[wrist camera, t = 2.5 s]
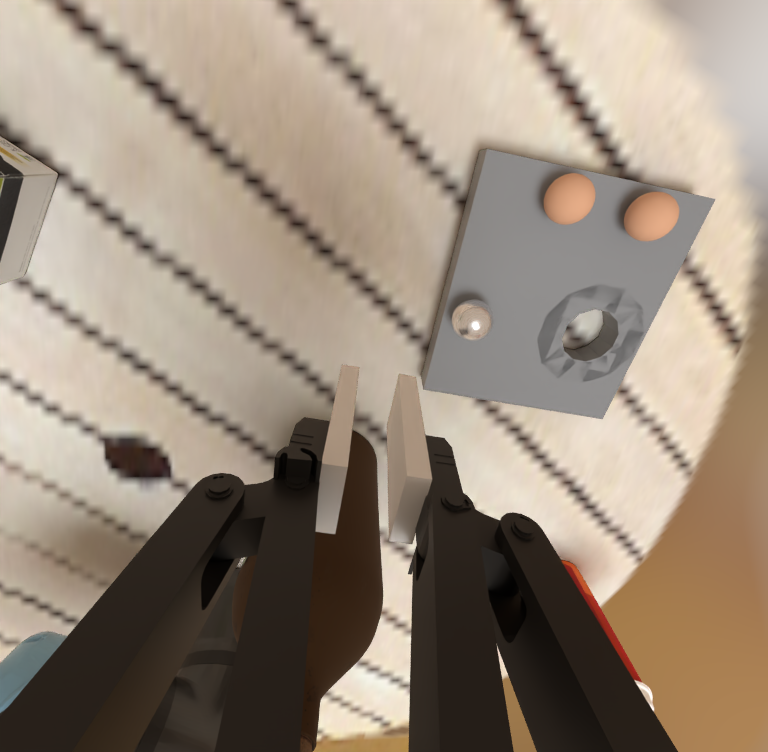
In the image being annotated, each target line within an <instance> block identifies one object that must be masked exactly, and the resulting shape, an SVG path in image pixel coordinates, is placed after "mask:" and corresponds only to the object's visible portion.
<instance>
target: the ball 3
mask: <svg viewBox="0 0 768 752" xmlns="http://www.w3.org/2000/svg"><path fill="white" fill-rule="evenodd" d="M678 217H679V206H678V203H677V201H676V200H675V199H674V198H673V197H672V196H671V195H669V194H667V193H664V192H650V193H647V194H644V195H642V196H640V197H638V198H637V199H636V200H634V201H633V202H632V203H631V205H630V206H629V207H628V209H627V211H626V213H625V216H624V227H625V230H626V231H627V233H628V234H629V235H630V236H631V237H632V238H634V239H636V240H639V241H653V240H657V239H659V238H661V237H663V236H665V235H666V234H668V233H669V232H670V231H671V230H672V229H673V227H674V226H675V224H676V223H677V220H678Z"/></svg>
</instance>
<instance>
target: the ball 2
mask: <svg viewBox="0 0 768 752" xmlns="http://www.w3.org/2000/svg"><path fill="white" fill-rule="evenodd" d="M594 202H595V188H594V185H593V183H592V182H591V181H590V179H589V178H587V177H586V176H584V175H581V174H577V173H571V174H566V175H563V176H561V177H559V178H558V179H556V180H555V181H554V182H553V183H552V184H551V185H550V186H549V188H548V189H547V191H546V194H545V197H544V210H545V212H546V214H547V216H548V217H549V218H550V219H551V220H552V221H553V222H555V223H558V224H563V225H568V224H573V223H576V222H578V221H580V220H581V219H583V218H584V217H585V216H586V215H587V214H588V213H589V212H590V210H591V209H592V207H593V205H594Z"/></svg>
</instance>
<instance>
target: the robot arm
mask: <svg viewBox="0 0 768 752" xmlns="http://www.w3.org/2000/svg"><path fill="white" fill-rule="evenodd" d="M358 376H359V367H354V366H348V365H342V367H341V372H340V377H339V381H338V386H337V391H336V396H335V400H334V405H333V410H332V415H331V420H330V421H324V420H318V419H311V418H305V417H304V418H303V419H302V420H301V421H299V422H298V423H297V424H296V426H295V429H294V431H293V435H292V437H291V440H290V443H289V446H288V447H284V448H283V449H282V450H280V451H279V452H278V453H277V455H276V457H275V467H274V478H272V479H270V480H269V481H266V482H263V483H258V484H251V485H244V483H243V481H242V480H241V479H240V478H239V477H237V476H234V475H232V474H226V473H219V474H212V475H210V476H207V477H205V478H203V479H202V480H200V481H199V482H198V483H197V484H196V485H195V486H194V487H193V488H192V490H191V491H190V492H189V493H188V494H187V496H186V497H185V498H184V499H183V500H182V501H181V503H180V504H179V505H178V506H177V507H176V509H175V510H174V511H173V512H172V513H171V515H170V516H169V517H168V518H167V519H166V520H165V522H164V523H163V524H162V525H161V526H160V528H159V529H158V530H157V531H156V532H155V533H154V535H153V536H152V537H151V538H150V539H149V541H148V542H147V543H146V544H145V545H144V546H143V548H142V549H141V550H140V551H139V552H138V554H137V555H136V556H135V557H134V558H133V559H132V561H131V562H130V563H129V564H128V565H127V567H126V568H125V569H124V570H123V571H122V573H121V574H120V575H119V576H118V577H117V578H116V580H115V581H114V582H113V583H112V584H111V586H110V587H109V588H108V589H107V590H106V591H105V593H104V594H103V595H102V596H101V597H100V599H99V600H98V601H97V602H96V603H95V604H94V606H93V607H92V608H91V609H90V610H89V612H88V613H87V614H86V615H85V616H84V618H83V619H82V620H81V621H80V622H79V623H78V625H77V626H76V627H75V628H74V629H73V631H72V632H71V633H70V634H69V635H68V636H65V635H62V634H58V633H55V632H41V633H37V634H35V635H33V636H31V637H29V638H27V639H26V640H24V641H23V642H22V643H21V644H19V645H18V646H17V647H16V648H15V649H14V650H13V651H12V652H11V653H10V654H9V655H8V656H7V657H6V658H5V659H4V660H3V661H2V662H1V663H0V752H300V739H301V725H302V711H303V697H304V684H305V670H306V656H307V642H308V628H309V615H310V601H311V587H312V573H313V560H314V546H315V532H322V533H329V534H335V533H336V527H337V522H338V517H339V511H340V506H341V501H342V495H343V490H344V485H345V479H346V474H347V469H348V461H349V452H350V444H351V435H352V427H353V418H354V410H355V401H356V393H357V384H358ZM387 457H388V516H389V541H391V542H398V543H406V544H412V543H413V540H414V537H415V533H416V541H417V546H416V549H415V553H414V556H413V559H412V562H411V565H410V568H409V572H408V574H412V571H413V588H412V630H411V672H410V714H409V752H514V751H513V745H512V739H511V733H510V727H509V720H508V714H507V708H506V701H505V695H504V689H503V682H502V676H501V670H500V664H499V657H498V651H497V646H498V649H499V651H500V654H501V657H502V659H503V662H504V665H505V668H506V670H507V673H508V676H509V678H510V681H511V683H512V686H513V689H514V692H515V694H516V697H517V699H518V702H519V705H520V707H521V710H522V713H523V715H524V718H525V721H526V723H527V726H528V729H529V731H530V734H531V737H532V740H533V742H534V745H535V748H536V750H537V752H678V751H677V749H676V748H675V746H674V744H673V743H672V741H671V739H670V738H669V736H668V735H667V733H666V731H665V730H664V728H663V727H662V725H661V723H660V722H659V720H658V719H657V717H656V715H655V713H654V712H653V710H652V708H651V707H650V705H649V703H648V702H647V700H646V699H645V697H644V695H643V694H642V692H641V690H640V689H639V687H638V685H637V684H636V682H635V681H634V679H633V677H632V676H631V674H630V672H629V671H628V669H627V667H626V666H625V664H624V663H623V661H622V659H621V658H620V656H619V654H618V653H617V651H616V649H615V648H614V646H613V645H612V643H611V641H610V640H609V638H608V636H607V635H606V633H605V631H604V630H603V628H602V627H601V625H600V623H599V622H598V620H597V618H596V617H595V615H594V613H593V612H592V610H591V609H590V607H589V605H588V604H587V602H586V600H585V599H584V597H583V595H582V594H581V592H580V590H579V589H578V587H577V586H576V584H575V582H574V581H573V579H572V577H571V576H570V574H569V572H568V571H567V569H566V568H565V566H564V564H563V563H562V561H561V559H560V558H559V556H558V554H557V553H556V551H555V550H554V548H553V546H552V545H551V543H550V541H549V540H548V538H547V536H546V535H545V533H544V532H543V530H542V529H541V528H540V526H539V525H538V524H537V523H536V522H535V521H533V520H532V519H530V518H529V517H527V516H524V515H522V514H518V513H507V514H505V515H504V516H503V517H502V518H501V520H497V519H494V518H492V517H489V516H487V515H485V514H482V513H480V512H479V511H477V510H476V509H475V507H474V505H473V502H472V501H471V499H470V498H469V497H468V496H467V495H465V494H464V493H463V491H462V487H461V483H460V479H459V475H458V471H457V467H456V463H455V459H454V455H453V451H452V447H451V446H450V445H449V443H448V442H447V441H446V440H445V438H440V437H433V436H427V435H425V431H424V425H423V419H422V412H421V406H420V400H419V394H418V387H417V381H416V377H413V376H407V375H401V374H399V375H398V380H397V384H396V388H395V393H394V397H393V401H392V406H391V410H390V415H389V419H388V423H387ZM255 555H257V558H256V562H255V567H254V571H253V576H252V581H251V585H250V590H249V594H248V599H247V604H246V608H245V613H244V618H243V622H242V627H241V631H240V636H239V641H238V644H237V641H236V638H235V635H234V631H233V626H232V600H233V592H234V587H235V583H236V580H237V576H238V573H239V571H240V569H235V568H236V567H237V565H238V563H239V561H240V559H241V558H243V557H249V556H255ZM496 643H497V645H496Z"/></svg>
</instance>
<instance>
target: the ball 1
mask: <svg viewBox="0 0 768 752" xmlns="http://www.w3.org/2000/svg"><path fill="white" fill-rule="evenodd" d="M493 324H494V315H493V312H492V310H491V308H490V307H489V306H488V305H487V304H486V303H484V302H483V301H480V300H475V299H472V300H467V301H464V302H462V303H461V304H459V305H458V306H457V308H456V309H455V310H454V312H453V315H452V326H453V329H454V331H455V333H456V334H457V335H458V336H459V337H461V338H462V339H464V340H468V341H477V340H480V339H482V338H484V337H486V336H487V335H488V334H489V333H490V331H491V329H492V327H493Z"/></svg>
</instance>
